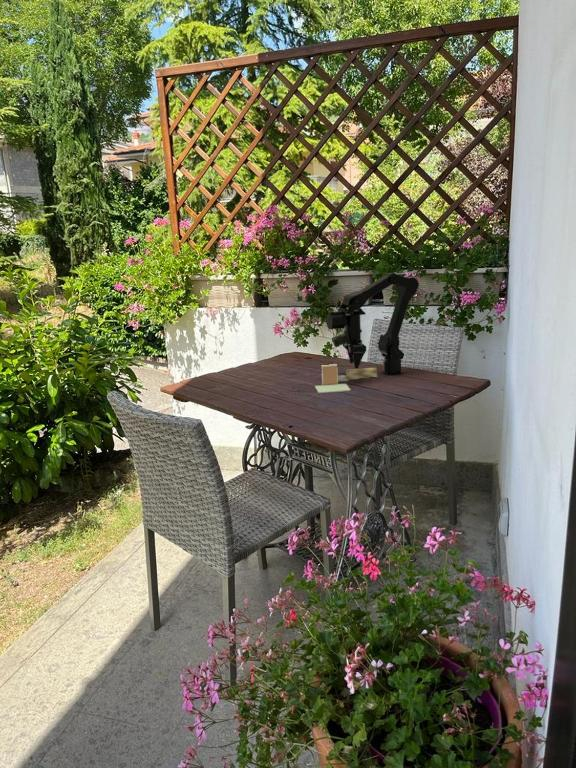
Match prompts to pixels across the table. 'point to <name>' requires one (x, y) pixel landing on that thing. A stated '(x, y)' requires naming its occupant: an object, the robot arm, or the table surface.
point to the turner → (358, 374)
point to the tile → (329, 374)
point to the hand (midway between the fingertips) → (354, 365)
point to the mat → (332, 388)
